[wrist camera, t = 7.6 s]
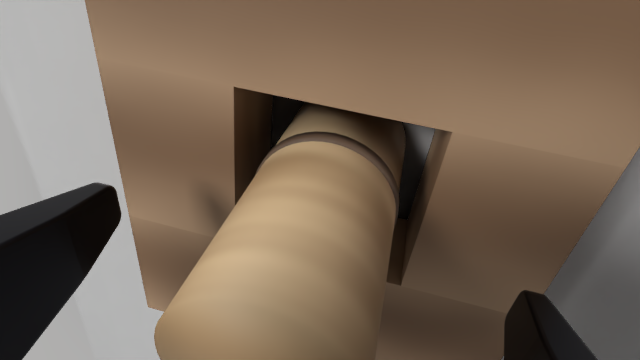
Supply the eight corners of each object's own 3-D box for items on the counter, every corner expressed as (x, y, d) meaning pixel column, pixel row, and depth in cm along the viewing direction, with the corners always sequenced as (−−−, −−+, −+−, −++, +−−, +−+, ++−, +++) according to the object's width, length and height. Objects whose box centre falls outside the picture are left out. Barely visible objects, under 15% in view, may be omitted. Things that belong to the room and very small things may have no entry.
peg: (393, 200, 14) (352, 459, 8) (287, 175, 14) (164, 399, 8) (420, 98, 12) (396, 340, 5) (295, 74, 12) (136, 268, 6)
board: (469, 326, 16) (474, 400, 14) (187, 251, 18) (148, 307, 16) (693, -98, 8) (797, -95, 6) (143, -168, 10) (45, -189, 7)
